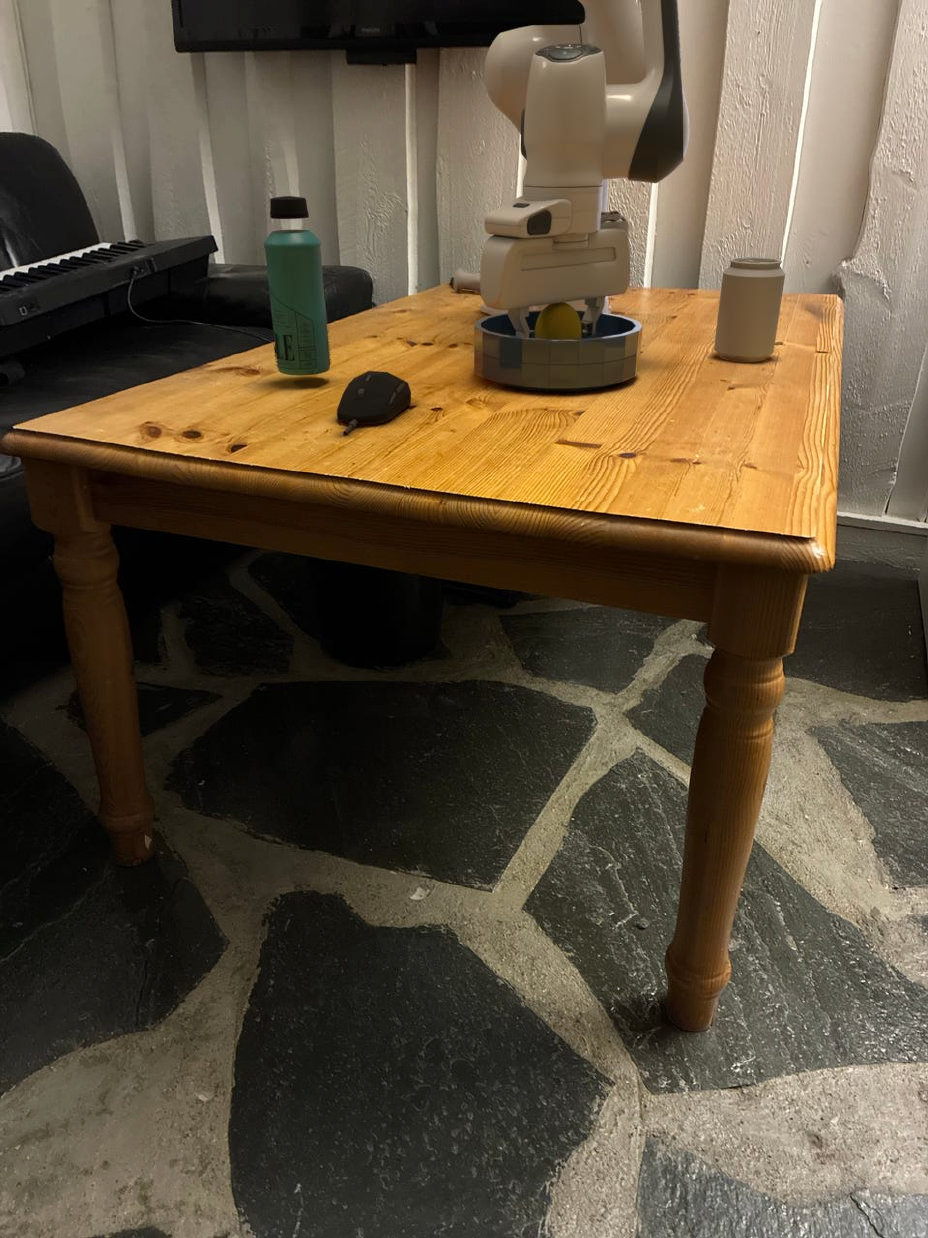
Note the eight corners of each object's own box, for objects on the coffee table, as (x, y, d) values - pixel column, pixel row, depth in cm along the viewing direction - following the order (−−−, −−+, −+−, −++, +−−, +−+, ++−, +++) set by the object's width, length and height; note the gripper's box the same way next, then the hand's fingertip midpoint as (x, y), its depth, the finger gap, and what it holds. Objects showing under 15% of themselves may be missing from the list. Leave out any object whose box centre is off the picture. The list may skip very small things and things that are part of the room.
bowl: (442, 371, 112) (441, 321, 109) (563, 351, 122) (565, 304, 119) (545, 404, 97) (547, 347, 95) (672, 378, 107) (677, 326, 105)
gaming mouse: (314, 433, 89) (311, 392, 87) (365, 395, 101) (362, 359, 99) (375, 437, 87) (373, 395, 85) (419, 398, 100) (417, 362, 98)
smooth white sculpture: (498, 299, 168) (486, 293, 164) (460, 295, 171) (447, 289, 167) (502, 274, 167) (490, 268, 163) (464, 271, 170) (451, 265, 166)
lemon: (530, 364, 111) (532, 295, 108) (574, 362, 112) (578, 294, 108) (537, 374, 106) (539, 303, 103) (583, 373, 107) (587, 302, 103)
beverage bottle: (342, 377, 109) (329, 194, 99) (316, 391, 103) (300, 198, 94) (294, 374, 111) (277, 193, 101) (266, 386, 105) (245, 197, 96)
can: (775, 364, 114) (791, 262, 108) (714, 362, 115) (726, 261, 110) (770, 352, 120) (784, 255, 115) (712, 350, 122) (723, 254, 116)
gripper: (609, 208, 109) (602, 327, 115) (472, 217, 98) (472, 347, 105) (648, 211, 104) (637, 334, 111) (507, 220, 94) (505, 356, 100)
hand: (556, 341), depth 108 cm, fingers open, 8 cm apart
